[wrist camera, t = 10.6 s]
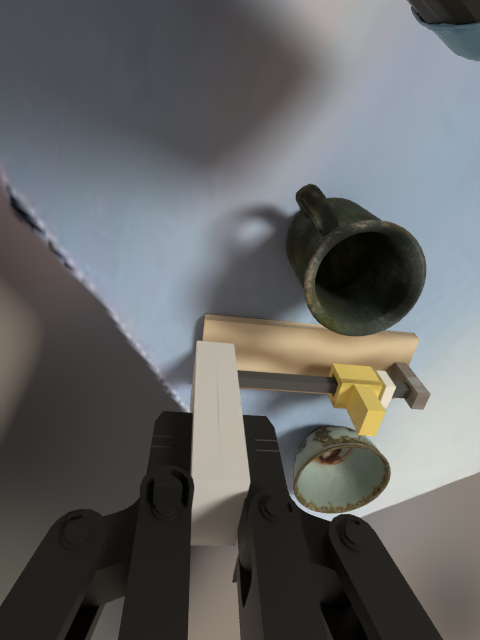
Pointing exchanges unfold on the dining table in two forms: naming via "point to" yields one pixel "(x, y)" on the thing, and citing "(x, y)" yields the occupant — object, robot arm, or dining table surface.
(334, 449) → the bowl
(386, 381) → the band
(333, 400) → the sleeve
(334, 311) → the mug
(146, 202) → the dining table surface
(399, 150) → the dining table surface
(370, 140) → the dining table surface
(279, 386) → the rod
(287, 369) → the wooden slider rail
